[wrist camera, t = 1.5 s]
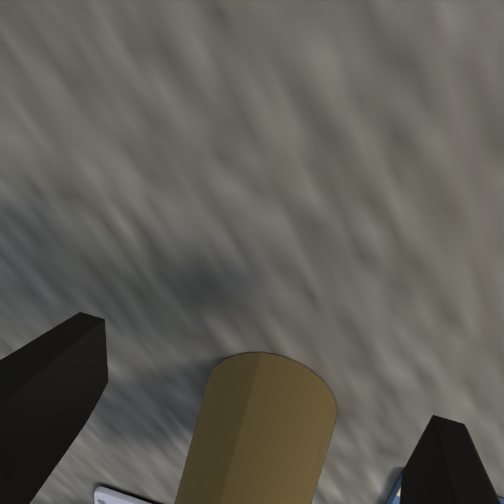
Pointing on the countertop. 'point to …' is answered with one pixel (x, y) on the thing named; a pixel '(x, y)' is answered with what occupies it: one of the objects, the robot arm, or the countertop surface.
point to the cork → (259, 434)
